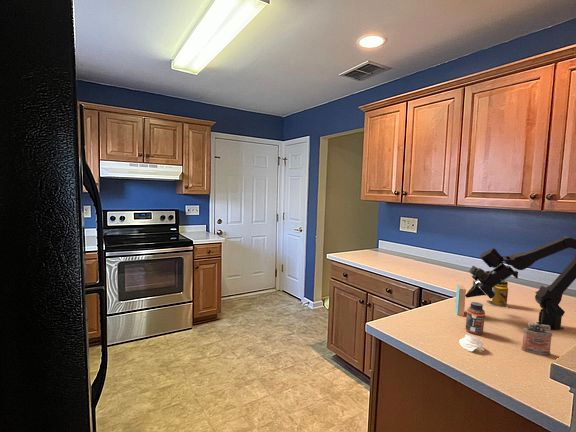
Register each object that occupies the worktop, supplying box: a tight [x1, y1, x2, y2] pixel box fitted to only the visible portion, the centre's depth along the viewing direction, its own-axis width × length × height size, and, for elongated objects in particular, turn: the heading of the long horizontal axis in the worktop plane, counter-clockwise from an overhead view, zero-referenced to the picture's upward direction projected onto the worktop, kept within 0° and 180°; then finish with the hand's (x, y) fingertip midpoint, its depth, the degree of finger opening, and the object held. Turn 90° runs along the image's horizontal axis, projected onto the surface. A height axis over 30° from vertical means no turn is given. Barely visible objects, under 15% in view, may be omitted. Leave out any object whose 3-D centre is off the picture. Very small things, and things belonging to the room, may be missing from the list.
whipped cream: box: [458, 334, 485, 352], centre depth 110 cm, size 8×7×5 cm
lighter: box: [520, 322, 553, 357], centre depth 108 cm, size 8×3×10 cm, turn 69°
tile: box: [454, 283, 467, 317], centre depth 141 cm, size 2×7×12 cm, turn 159°
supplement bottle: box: [465, 301, 486, 335], centre depth 123 cm, size 6×6×11 cm
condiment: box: [486, 280, 509, 309], centre depth 154 cm, size 7×8×12 cm
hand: (465, 296), depth 141 cm, fingers closed
